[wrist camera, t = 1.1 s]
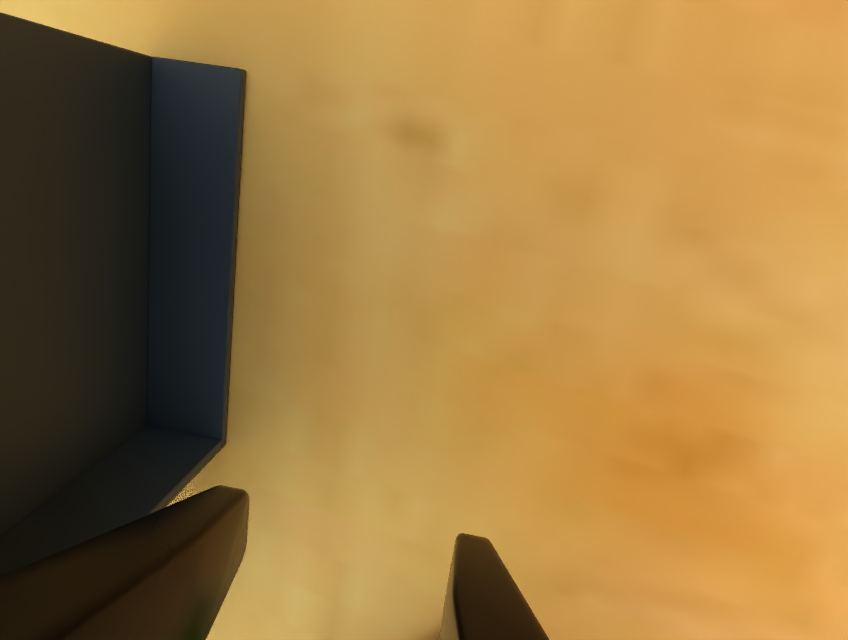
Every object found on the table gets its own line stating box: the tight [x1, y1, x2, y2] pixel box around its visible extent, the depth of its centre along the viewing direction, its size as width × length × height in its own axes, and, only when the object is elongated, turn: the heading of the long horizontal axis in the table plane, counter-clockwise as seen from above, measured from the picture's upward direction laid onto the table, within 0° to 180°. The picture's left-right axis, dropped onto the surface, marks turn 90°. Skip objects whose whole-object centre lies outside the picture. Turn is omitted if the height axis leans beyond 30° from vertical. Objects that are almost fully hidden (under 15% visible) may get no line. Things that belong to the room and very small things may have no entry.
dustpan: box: [0, 12, 246, 576], centre depth 17 cm, size 3×20×11 cm, turn 172°
